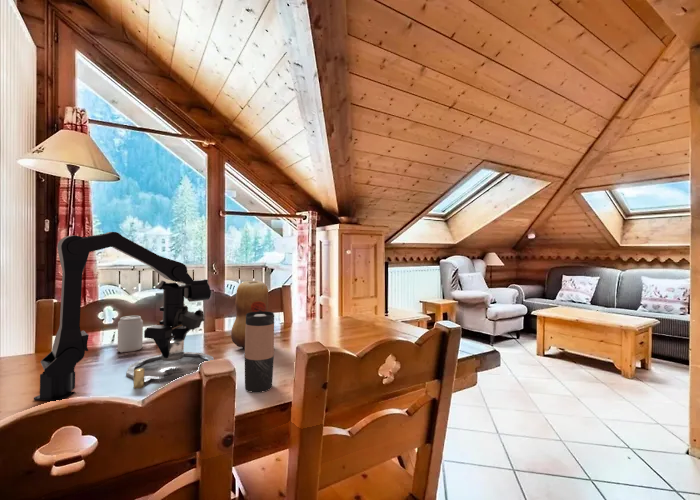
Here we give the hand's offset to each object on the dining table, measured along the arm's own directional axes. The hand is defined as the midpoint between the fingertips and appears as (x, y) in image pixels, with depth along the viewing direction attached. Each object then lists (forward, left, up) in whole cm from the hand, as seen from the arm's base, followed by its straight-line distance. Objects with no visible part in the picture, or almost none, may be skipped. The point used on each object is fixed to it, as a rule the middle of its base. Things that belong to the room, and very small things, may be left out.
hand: (172, 354), depth 106 cm
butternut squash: (+25, -15, -5) cm, 30 cm away
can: (+15, +25, -5) cm, 29 cm away
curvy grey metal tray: (-2, 0, -4) cm, 5 cm away
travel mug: (-9, -30, -5) cm, 32 cm away
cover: (0, 0, -1) cm, 1 cm away
